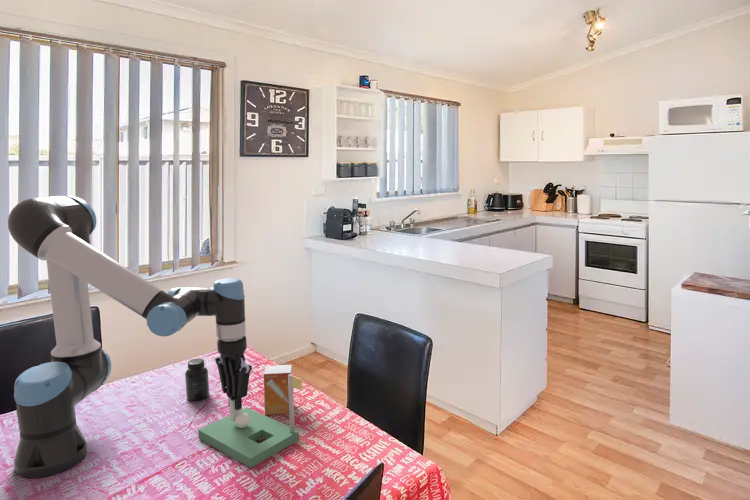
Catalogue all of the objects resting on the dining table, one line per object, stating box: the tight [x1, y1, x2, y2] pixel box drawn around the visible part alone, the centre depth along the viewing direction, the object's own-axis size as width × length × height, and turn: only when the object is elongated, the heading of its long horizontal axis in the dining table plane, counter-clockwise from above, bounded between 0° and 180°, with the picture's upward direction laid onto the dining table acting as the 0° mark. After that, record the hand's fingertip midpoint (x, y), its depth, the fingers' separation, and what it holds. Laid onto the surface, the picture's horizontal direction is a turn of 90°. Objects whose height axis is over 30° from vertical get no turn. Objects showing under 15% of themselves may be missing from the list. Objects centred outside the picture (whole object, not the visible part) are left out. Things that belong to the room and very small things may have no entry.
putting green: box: [197, 373, 303, 469], centre depth 130 cm, size 25×16×18 cm, turn 53°
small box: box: [263, 364, 293, 416], centre depth 147 cm, size 8×6×13 cm
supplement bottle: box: [184, 358, 210, 402], centre depth 156 cm, size 7×7×12 cm
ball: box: [235, 413, 250, 428], centre depth 133 cm, size 4×4×4 cm
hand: (236, 419), depth 135 cm, fingers closed
